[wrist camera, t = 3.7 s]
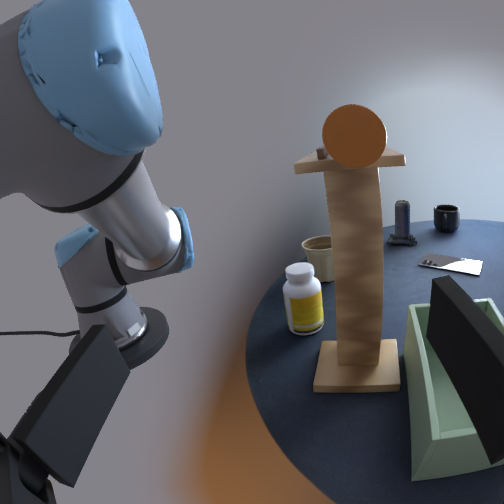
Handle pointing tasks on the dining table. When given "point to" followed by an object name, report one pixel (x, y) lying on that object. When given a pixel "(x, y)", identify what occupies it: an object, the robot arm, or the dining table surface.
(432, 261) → the smartphone
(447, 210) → the mug
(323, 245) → the flower pot
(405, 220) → the dark grey pillar
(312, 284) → the pill bottle
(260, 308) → the dining table surface
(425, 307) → the bin
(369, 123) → the orange brown cylinder
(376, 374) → the stand
